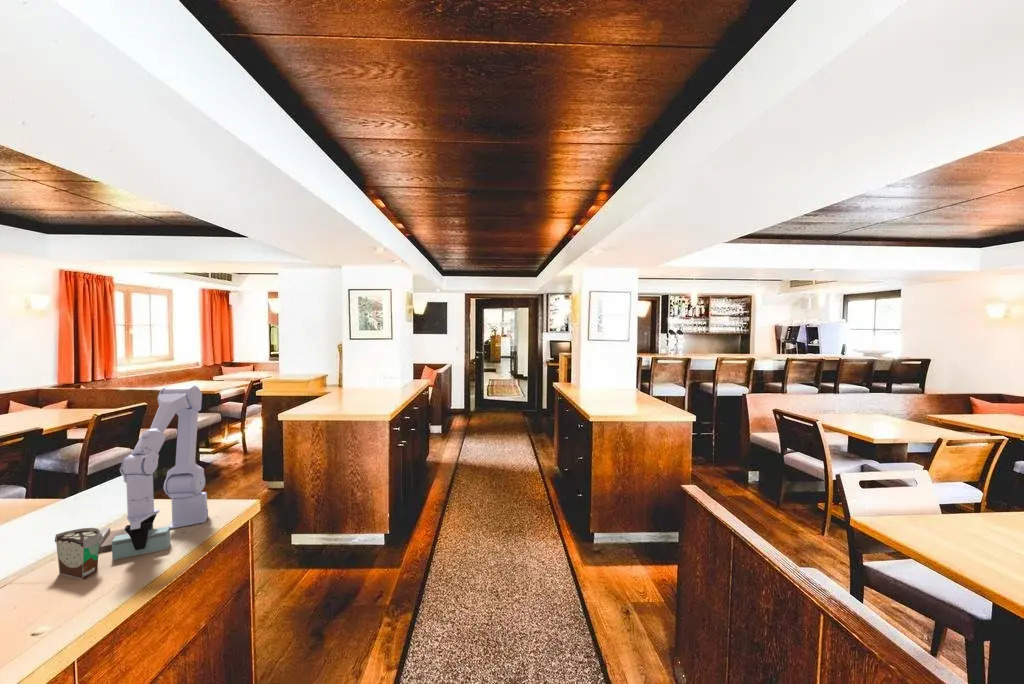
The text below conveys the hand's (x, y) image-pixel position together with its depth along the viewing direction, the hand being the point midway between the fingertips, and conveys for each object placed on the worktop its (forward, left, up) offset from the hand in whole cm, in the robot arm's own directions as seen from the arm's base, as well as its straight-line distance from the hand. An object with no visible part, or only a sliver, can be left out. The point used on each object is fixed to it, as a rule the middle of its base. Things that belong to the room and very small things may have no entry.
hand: (142, 545), depth 126 cm
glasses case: (0, 0, -2) cm, 2 cm away
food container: (+10, +6, -2) cm, 12 cm away
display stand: (+7, -12, -2) cm, 14 cm away
